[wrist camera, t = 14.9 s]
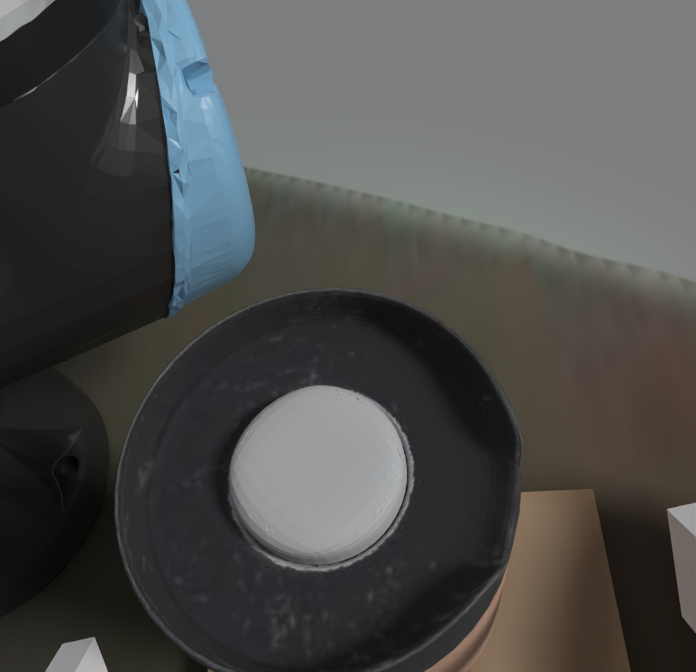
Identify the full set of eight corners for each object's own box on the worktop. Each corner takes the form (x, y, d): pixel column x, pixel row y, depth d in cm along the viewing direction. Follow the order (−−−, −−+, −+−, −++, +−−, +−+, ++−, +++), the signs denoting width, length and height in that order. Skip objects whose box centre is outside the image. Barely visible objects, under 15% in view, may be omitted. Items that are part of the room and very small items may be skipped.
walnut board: (212, 739, 28) (200, 740, 27) (233, 514, 33) (224, 506, 32) (636, 740, 26) (645, 742, 24) (587, 498, 31) (593, 488, 30)
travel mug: (290, 582, 30) (56, 402, 13) (426, 494, 31) (379, 222, 14) (374, 751, 26) (197, 820, 9) (527, 644, 27) (634, 521, 10)
